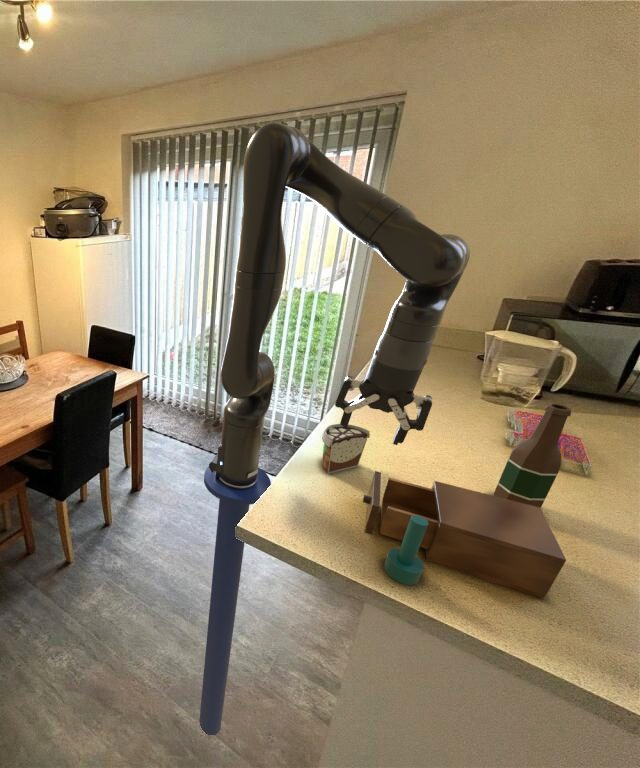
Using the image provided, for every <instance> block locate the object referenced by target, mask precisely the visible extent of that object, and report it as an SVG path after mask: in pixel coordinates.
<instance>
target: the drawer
mask: <svg viewBox="0 0 640 768" xmlns="http://www.w3.org/2000/svg"><path fill="white" fill-rule="evenodd" d="M381 480H382V472H380V471H376V470H374V472H373V476H372V479H371V483H370V486H369V490H368V493H367V495H366V494H363V497H362V503H363V504H366V512H365V522H364V523H365V524H364V533H365V534H367V535H370V536H372V535H373V531H374V528H375V524H376V521H377V518H378V514H379V512H380V530H379V531H380V533H379V534H380V535H382V536H383V535H384V536H386V537H389V538H392V539H395V540H398V541H401V542H403V539H404V536H405V533H406V530H407V527H408V524H409V521H410V518H411V516H413V515H417V516H421V517H423V518H425V519H426V520H427V521H428V526H427V529H426V532H425V534H424V537H423V540H422V542H421V545H420V548H423V549H425V550H426V549H429V548H430V545H431V543H432V540H433V538H434V535H435V532H436V530H437V527H438V525H439V521H438V514H437V507H436V501H435V494H434V489H431V487H426V486H422V485H418V484H414V483H411V482H406V481H403V480H400V479H396V478H392V477H388V478H387V481H386V485H385V487H384V491H383V495H382V499H381V485H382V481H381Z"/></svg>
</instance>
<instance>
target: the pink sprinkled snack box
mask: <svg viewBox="0 0 640 768" xmlns="http://www.w3.org/2000/svg"><path fill="white" fill-rule="evenodd" d="M509 412H512V413H508V416H507V421H508V423H510V425H511V428H512V429H514V430H512V429H508V428H507V429H505V431H506V433H505V440H506V441H509V446H510V447H513V448H514V447H515V446H516V445H517V444H518V443H519V442H521V441H523V440H525V439H527V438H529V437H530V436H531V435H532V434H533V432H534V431H535V429H536V427H537V426H538V424H539V422H540V420H541V418H542V417H543V415H544V414H539V413H534V412H527V411H522V410H518V409H513V408H509ZM558 447H559V449H560V451H561V458H562V461H561V467H560V469H561V470H563V471H565V468H564V467H565V465H566V463H567V464H569V466H568V468H566V472H571V473H575V474H579V475H583V476H586V477H587V476H588V475H589V473H590V471H591V469H592V468H593V465H592V462H591V460H590V457H589V455H588V451H587V449H586V445H585V443H584V440H583V438H582V437H581V436H575V435H571V434H567V433H563V432H561V435H560V438H559V440H558ZM565 459H566V460H565ZM574 461H575V462H574ZM578 462H579V463H578ZM571 465H573V466H572V467H571ZM575 465H576V466H575ZM579 465H580V466H581V467H583V472H579ZM562 466H563V467H562ZM577 467H578V468H577ZM570 468H571V469H570ZM573 469H574V471H573Z"/></svg>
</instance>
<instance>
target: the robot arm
mask: <svg viewBox="0 0 640 768" xmlns="http://www.w3.org/2000/svg"><path fill="white" fill-rule="evenodd" d="M250 137H251V138H250V139H249V141H248V142H247V145H246V149H245V152H244V158H243V174H242V179H243V180H242V181H243V183H242V191H243V192H242V195H243V196H242V217H241V226H240V234H239V244H238V254H237V261H236V267H235V276H234V282H233V283H234V285H233V287H234V288H233V295H232V296H233V300H232V305H231V306H232V307H231V311H230V313H231V314H230V320H229V321H230V322H229V330H228V331H229V332H228V337H227V342H226V345H225V350H224V355H223V359H222V363H221V370H220V381H221V385H222V388H223V389H224V391H225V392H226V394H227V395H229V396H230V398H229V399H228V401H227V402H226V403H225V405H224V408H223V417H222V428H221V429H222V430H221V441H220V444H219V445H218V447H217V454H215V456H214V457H213V459H212V460H211V461H210V462H209V464H208V466H209V468H210V470H211V472H214V471H216V480H219V481H220V482H221V483H222V484H223V485H225V486H227V487H229V488H231V489H235V490H247V489H250V488H252V487H254V486H255V484H256V481H257V473H258V467H259V461H260V456H261V449H262V440H263V433H264V425H265V418H266V415H267V413H268V411H269V409H270V407H271V401H272V395H273V390H274V386H275V379H276V378H275V376H276V369H275V366H274V362H273V360H272V359H271V357H270V356H269V355H268V354H267V353H266V352H263V350H261V346H262V345H261V344H262V340H263V337H264V334H265V333H266V332H265V331H266V330H267V327H268V326H269V323H270V321H271V319H272V317H273V315H274V313H275V311H276V309H277V306H278V304H279V302H280V298H281V295H282V290H283V286H284V285H283V284H284V281H285V280H284V277H285V274H286V265H287V253H286V252H287V251H286V245H285V239H284V231H283V224H282V212H283V203H284V198H285V193H286V188H287V189H290V190H292V191H295V192H297V193H299V194H301V195H303V196H305V197H306V198H308V199H309V200H311V201H313V203H315V204H316V205H318V207H320V208H321V209H322V210H323V211H324V212H325V213H326V214H327V215H328V216H329V217H330V218H331V219H332V220H333V221H334V222H335V223H336V224H337V225H338V226H339V227H340V228H342V229H343V230H344V232H347V233H348V235H351V236H352V237H353V238H355V239H356V240H357V241H359V242H361V243H362V244H364V245H365V246H367V247H369V249H371V250H373V251H375V252H377V253H378V254H379V255H380V257H382V259H383V260H384V261H385V262H386V263H387V264H388V265H389V266H390V267H391V268H392V269H394V271H396V273H398V274H399V275H400V276H401V277H402V278H404V279H406V281H405V284H404V287H403V289H402V292H401V294H400V295H399V297H398V298H397V299H396V300H395V302H394V304H393V305H392V307H391V310H390V312H389V315H388V318H387V320H386V323H385V326H384V329H383V332H382V334H381V335H380V337H379V339H378V342H377V343H376V346H375V348H374V351H373V355H372V358H371V360H370V364H369V366H368V368H367V371H366V375H365V378H364V379H363V380H357V379H355V378H353V376H351V375H347V376H345V379H344V380H343V383H342V385H341V388H340V391H339V393H338V395H337V399H336V401H335V403H334V406H335V407H336V408H339V409H341V410H342V411H343V413H342V416H341V419H340V422H339V424H340V425H342V426H343V428H342V429H345V430H346V429H347V426H348V424H349V422H350V420H351V417H352V414H353V412H355V411H356V410H361V409H362V408H364V407H366V406H368V407H369V409H372V410H379V411H381V412H383V413H387V414H389V413H393V415H394V417H395V418H396V420H397V421H398V423H399V424H398V427H397V429H396V432H395V434H394V436H393V439H392V445H394V446H398V445H399V444H403V443H404V441H405V439H406V437H407V435H408V433H409V431H411V430H416V431H418V432H420V431H423V430H424V428H425V426H426V423H427V420H428V418H429V415H430V411H431V409H432V406H433V397H432V396H431V395H429V394H426V395H424V396H422V395H416V394H415V393H414V391H415V388H416V387H417V384H418V382H419V379H420V377H421V374H422V372H423V370H424V367H425V366H426V365H427V363H428V358H429V356H430V354H431V349H432V346H433V342H434V339H435V337H436V334H437V332H438V330H439V327H440V325H441V323H442V320H443V318H444V314H445V311H446V308H447V305H448V303H449V301H450V299H451V298H452V296H453V294H454V292H455V290H456V289H457V286H458V284H459V283H460V281H461V279H462V277H463V275H464V272H465V271H466V268H467V266H468V263H469V261H470V257H471V252H470V251H471V250H470V247H469V244H468V242H466V240H464V238H462V237H460V236H458V235H455V234H452V233H451V234H450V233H444V234H440V233H438V232H437V231H435V230H434V229H431V228H430V227H429V226H428V225H426V224H424V223H422V222H421V221H420V220H418V219H417V216H416V214H415V213H414V212H413V211H412V210H410V209H409V208H408V207H406V206H405V205H403V204H402V203H400V202H399V201H397V200H395V199H394V198H392V197H391V196H389V195H387V194H386V193H384V192H383V191H380V190H379V189H377V188H375V187H373V186H372V185H370V184H368V183H367V182H365V181H363V180H362V179H360V178H358V177H357V176H354V175H353V174H351V173H349V172H348V171H346V170H345V169H343V168H342V167H340V166H339V165H337V164H336V163H335V162H334V161H332V160H331V159H330V158H329V157H328V156H326V155H325V154H324V153H323V152H322V151H321V150H320V148H318V146H316V145H315V143H313V142H312V141H311V140H310V139H309V138H308V137H307V136H306V134H305V133H304V132H303V131H302V130H300V129H298V128H297V127H293V126H290V125H288V124H286V123H285V124H284V123H281V122H268V123H265V124H263V125H262V126H260V127H259V128H258V129H257V130H255V132H254V133H253V134H252V136H250ZM356 388H357V389H358V390H359V392H360V394H359V395H357V396H356V397H355V398H353V399H351V400H350V401H347V400H346V397H347V394H348V393H349V392H352V391H354V390H355V389H356ZM412 403H414V404H415V408H416V409H417V410H418V412H417V415H416V418H415V419H412V418H411V419H410V416H409V415H408V413H407V409H406V406H408V405H410V404H412Z"/></svg>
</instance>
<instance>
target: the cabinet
mask: <svg viewBox="0 0 640 768" xmlns="http://www.w3.org/2000/svg"><path fill="white" fill-rule="evenodd" d="M430 489H434V494H435V501H436V507H437V514H438V521H439V525H438V527H437V530H436V532H435V535H434V538H433V540H432V543H431V545H430V548H429V549H426V548H425V557H426V561H429V562H433V563H435V564H439V565H441V566H444V567H447V568H449V569H453V570H455V571H459V572H462V573H464V574H468V575H471V576H474V577H477V578H480V579H483V580H485V581H489V582H491V583H495V584H498V585H500V586H503V587H506V588H509V589H512V590H515V591H519V592H521V593H524V594H527V595H530V596H533V597H535V598H539V599H542V600H545V598H546V596H547V595H548V593H549V591H550V590H551V588H552V586H553V584H554V583H555V581H556V579H557V577H558V576H559V574H560V572H561V570H562V569H563V567H564V564H566V562H567V558H566V556H565V554H564V552H563V550H562V548H561V547H560V544H559V543H558V541H557V537H556V536H555V534H554V532H553V530H552V528H551V526H550V524H549V523H548V520H547V518H546V515H545V514H544V512H543V511H542V507H541V508H539V507H535V506H531V505H528V504H524V503H520V502H516V501H512V500H508V499H504V498H500V497H496V496H493V495H492V494H488V493H485V492H480V491H476V490H473V489H469V488H465V487H462V486H461V487H460V486H457V485H452V484H449V483H444V482H440V481H437V480H433V483H432V485H431V487H430Z"/></svg>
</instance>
